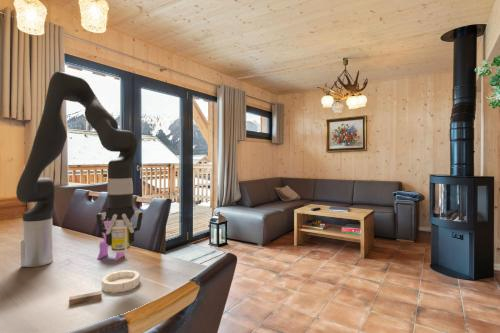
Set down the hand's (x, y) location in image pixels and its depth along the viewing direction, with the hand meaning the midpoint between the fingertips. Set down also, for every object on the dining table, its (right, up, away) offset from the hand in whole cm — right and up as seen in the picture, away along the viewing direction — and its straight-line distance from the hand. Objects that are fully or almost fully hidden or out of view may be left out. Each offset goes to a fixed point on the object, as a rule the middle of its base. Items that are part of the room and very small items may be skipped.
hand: (120, 244), depth 94 cm
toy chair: (-15, -13, +26) cm, 33 cm away
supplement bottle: (0, -2, 0) cm, 2 cm away
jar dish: (0, -13, 0) cm, 13 cm away
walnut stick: (-5, -14, -10) cm, 18 cm away
